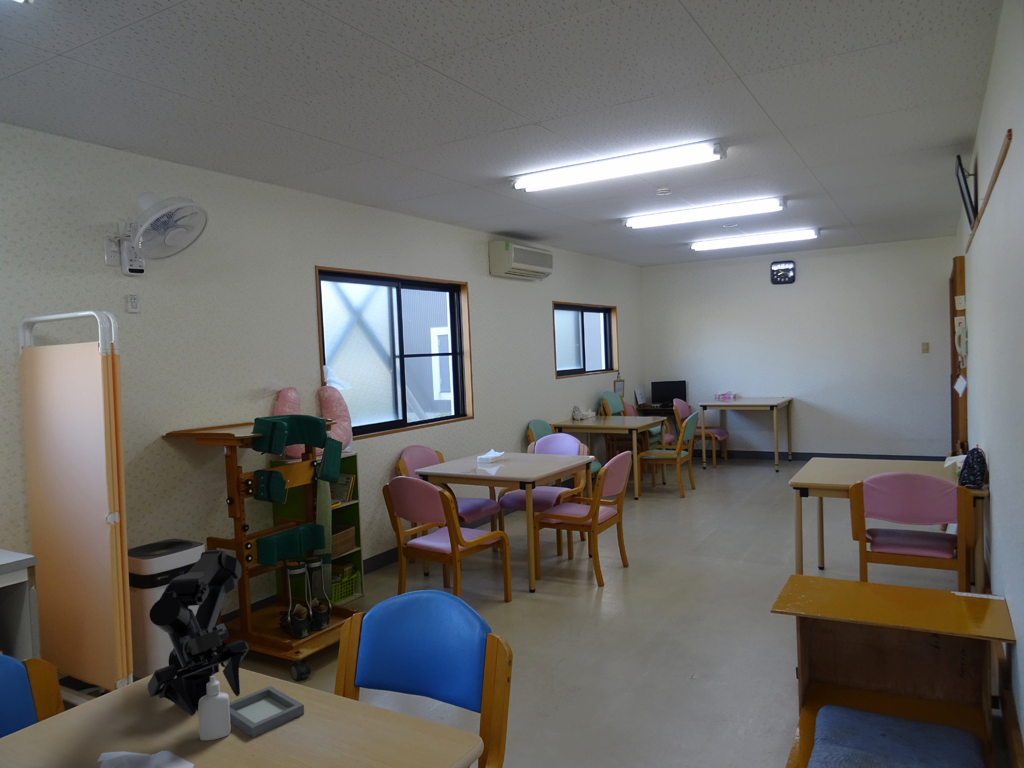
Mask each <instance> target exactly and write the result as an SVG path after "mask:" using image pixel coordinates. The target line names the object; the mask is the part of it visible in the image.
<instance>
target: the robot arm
mask: <svg viewBox="0 0 1024 768" xmlns="http://www.w3.org/2000/svg"><path fill="white" fill-rule="evenodd" d="M242 572H243V571H242V565H241V563H240V562H239V560H238V558H236V557H235V556H232V555H229V554H227V552H226V551H225V550H223V549H215V550H213V549H212V550H205V551H202V553H200V558H199V559H198V560H197V561H196V563H195V564H194V565H193V566H192V567H191V568H190V570H189V571H188V572H187V573H184V574H180V575H178V576H176V577H174V578H172V579H171V580H170V582H169V584H168V585H167V586H166V587H165V589H164V591H163V593H162V594H161V596H160V598H159V599H158V600H157V601H156V602H154V604H153V605H152V607H151V608H150V609H149V620H150V621H151V623H152V624H153V625H155V626H156V627H158V628H159V629H160V630H162V631H163V632H165V633H167V634H168V637H169V639H170V641H171V644H172V646H173V649H172V650H171V651H170V652H169V656H168V665H167V666H165V667H163V668H159V669H156V670H154V673H153V674H152V676H151V678H150V679H149V682H148V683H147V691H148V694H149V696H150V697H152V698H153V697H155V696H158V698H159V699H162V698H165V699H167V700H168V701H170V702H172V703H173V704H175V705H177V706H178V707H179V708H181V709H182V710H183V711H184V712H186V713H187V714H188V715H190V716H191V717H192V716H195V713H196V711H195V709H198V703H199V700H200V698H201V697H203V696H205V695H207V690H206V684H207V683H208V682H210V678H211V676H213V675H214V676H215V674H217V673H219V672H220V666H221V667H222V668H223V670H222V673H223V675H224V677H225V679H226V681H227V684H228V685H229V687H230V689H231V692H232V693H233V694H234V695H235V697H239V696H240V694H241V690H240V689H241V687H240V664H241V662H242V661H243V659H245V658H244V657H246V655H247V653H248V652H249V651H250V648H249V645H248V643H247V641H245V640H244V639H238V640H236V641H233V642H231V643H228V644H225V647H223V649H222V651H221V652H220V653H217V652H216V651H217V647H221V646H222V645H223V643H222V641H225V640H227V639H228V638H229V632H228V628H227V627H226V625H225V624H224V623H223V622H222V623H220V624H216V623H217V621H218V618H219V615H220V612H221V609H222V606H223V604H224V600H225V597H226V595H227V594H228V593H229V592H232V591H233V590H234V589H235V588H236V586H237V585H238V582H239V579H241V577H242ZM192 606H193V607H194V606H198V608H197V610H196V613H194V611H193V610H192V609H191V608H189V607H192Z"/></svg>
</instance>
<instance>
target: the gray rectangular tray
mask: <svg viewBox="0 0 1024 768" xmlns="http://www.w3.org/2000/svg"><path fill="white" fill-rule="evenodd" d="M229 705H230V724H232V725H233V726H235V727H236V728H238V729H240V731H242V732H243V733H245V734H247V736H250V737H251V738H252V739H253V738H255V737H258V736H259V735H261V734H264V733H266V732H268V731H271V730H272V729H275V728H276V727H280V726H282V725H284V724H286V723H288V722H290V721H292V720H294V719H296V718H299V717H301V716H303V715H304V714H305V704H304V703H302V702H300V701H299V700H296V699H294V698H292V697H291V696H289V695H287V694H285V692H282V691H280V690H279V689H277V688H275V687H274V686H271V685H269V686H267V687H264V688H262V689H259V690H257V691H254V692H252V693H250V694H247V695H244V696H243V697H240V698H237V699H235V700H233V701H229Z"/></svg>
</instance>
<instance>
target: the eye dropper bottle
mask: <svg viewBox="0 0 1024 768" xmlns="http://www.w3.org/2000/svg"><path fill="white" fill-rule="evenodd" d="M220 686H221V684H220V680H217V679H216V676H215V674H214V675H213V676H210V682H208V683H207V684H206V690H207V695H205V696H203V697H201V698H200V700H199V703H198V708H197V710H198V731H199V739H200V741H203V742H204V741H214V740H219V739H222V738H225V737H227V736H229V735H230V734H231V729H232V728H231V722H230V705H229V703H230V696H229V694H228V693H227V692H223V691H221V687H220Z"/></svg>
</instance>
